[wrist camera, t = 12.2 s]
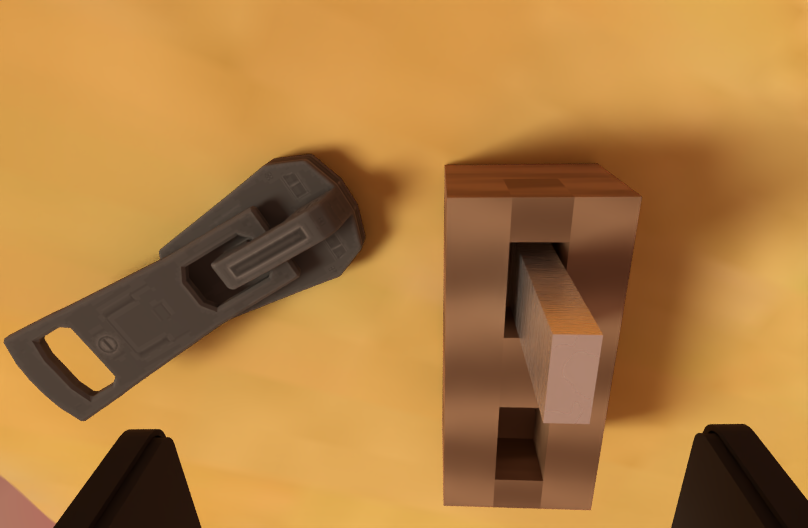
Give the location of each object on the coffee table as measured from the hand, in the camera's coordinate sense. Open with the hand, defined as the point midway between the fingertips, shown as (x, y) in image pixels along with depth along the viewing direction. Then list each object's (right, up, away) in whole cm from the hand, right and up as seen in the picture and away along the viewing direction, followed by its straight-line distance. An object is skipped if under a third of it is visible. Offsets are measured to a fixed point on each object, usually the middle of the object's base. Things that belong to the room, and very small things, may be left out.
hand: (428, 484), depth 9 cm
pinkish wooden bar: (+7, +4, +23) cm, 25 cm away
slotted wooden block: (+8, +1, +29) cm, 30 cm away
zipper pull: (-15, +4, +30) cm, 33 cm away
